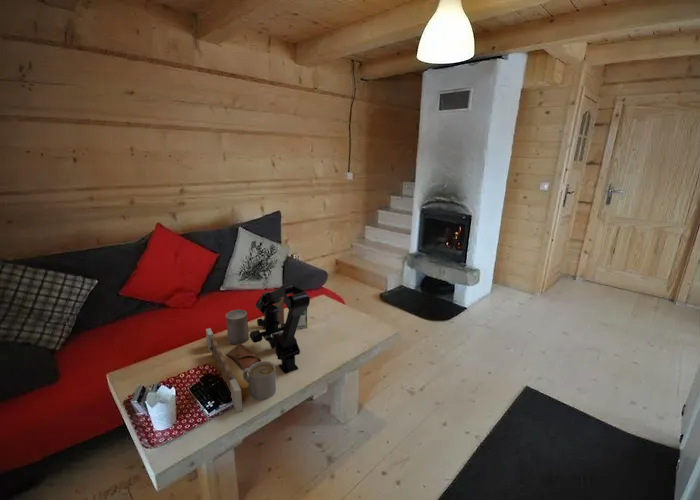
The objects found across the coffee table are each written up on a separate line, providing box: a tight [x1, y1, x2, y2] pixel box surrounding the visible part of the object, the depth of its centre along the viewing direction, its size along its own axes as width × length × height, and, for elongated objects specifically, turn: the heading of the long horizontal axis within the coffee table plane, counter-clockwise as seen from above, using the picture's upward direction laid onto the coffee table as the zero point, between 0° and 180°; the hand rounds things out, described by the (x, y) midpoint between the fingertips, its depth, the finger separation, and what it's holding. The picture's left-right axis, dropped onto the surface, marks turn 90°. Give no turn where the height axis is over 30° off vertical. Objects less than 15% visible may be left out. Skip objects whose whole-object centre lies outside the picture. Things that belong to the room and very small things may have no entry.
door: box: [210, 335, 234, 392], centre depth 141 cm, size 32×2×9 cm, turn 33°
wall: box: [205, 327, 243, 414], centre depth 141 cm, size 49×2×9 cm, turn 33°
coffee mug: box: [242, 360, 277, 401], centre depth 133 cm, size 13×10×10 cm
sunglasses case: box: [225, 343, 262, 372], centre depth 153 cm, size 18×7×7 cm, turn 46°
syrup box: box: [296, 308, 308, 330], centre depth 180 cm, size 6×6×14 cm
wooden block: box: [263, 297, 285, 326], centre depth 180 cm, size 4×11×18 cm, turn 135°
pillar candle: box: [225, 309, 250, 346], centre depth 166 cm, size 10×10×15 cm
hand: (272, 348), depth 159 cm, fingers closed
